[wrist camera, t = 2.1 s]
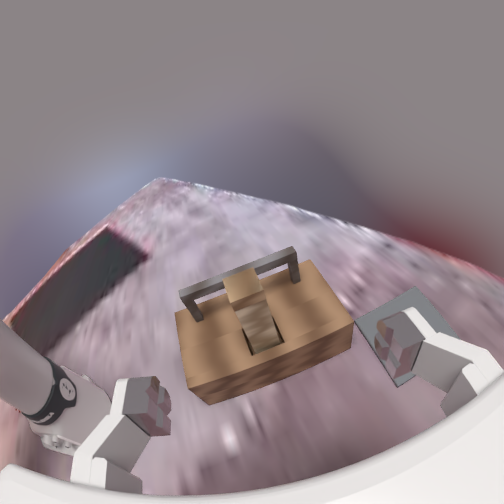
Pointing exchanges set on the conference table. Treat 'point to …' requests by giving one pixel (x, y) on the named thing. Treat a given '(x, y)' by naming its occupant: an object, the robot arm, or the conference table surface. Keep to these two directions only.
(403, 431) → the conference table surface
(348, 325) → the toolbox
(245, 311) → the wooden key
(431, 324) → the slate mat
